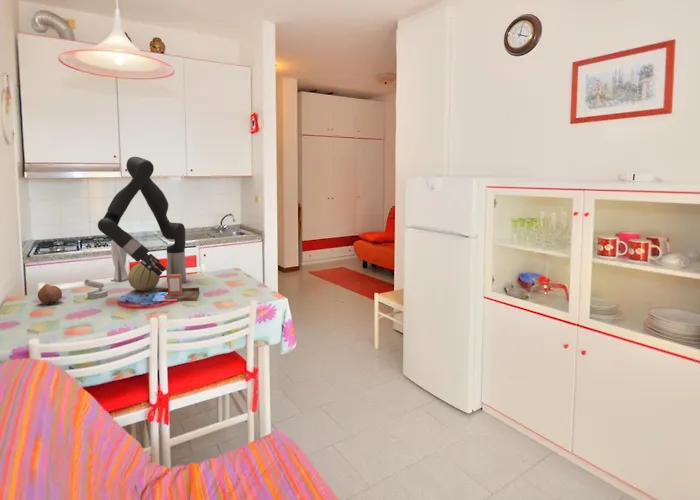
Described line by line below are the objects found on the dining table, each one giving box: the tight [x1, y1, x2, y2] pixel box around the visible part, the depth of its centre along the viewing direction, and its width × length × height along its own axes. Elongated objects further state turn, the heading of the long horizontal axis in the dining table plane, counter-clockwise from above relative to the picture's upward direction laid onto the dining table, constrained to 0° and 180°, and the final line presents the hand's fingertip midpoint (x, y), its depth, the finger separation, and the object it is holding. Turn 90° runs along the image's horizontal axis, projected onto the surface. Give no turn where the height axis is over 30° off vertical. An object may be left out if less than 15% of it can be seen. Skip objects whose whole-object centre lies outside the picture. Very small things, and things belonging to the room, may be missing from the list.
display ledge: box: [156, 286, 200, 302], centre depth 220 cm, size 20×13×3 cm, turn 102°
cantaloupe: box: [127, 262, 161, 292], centre depth 230 cm, size 15×15×15 cm
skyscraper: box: [110, 239, 129, 283], centre depth 248 cm, size 8×8×28 cm
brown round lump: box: [37, 283, 63, 305], centre depth 207 cm, size 10×9×10 cm
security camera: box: [84, 278, 109, 300], centre depth 219 cm, size 9×10×10 cm
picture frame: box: [167, 274, 183, 296], centre depth 219 cm, size 6×3×10 cm, turn 102°
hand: (162, 272), depth 217 cm, fingers open, 8 cm apart
